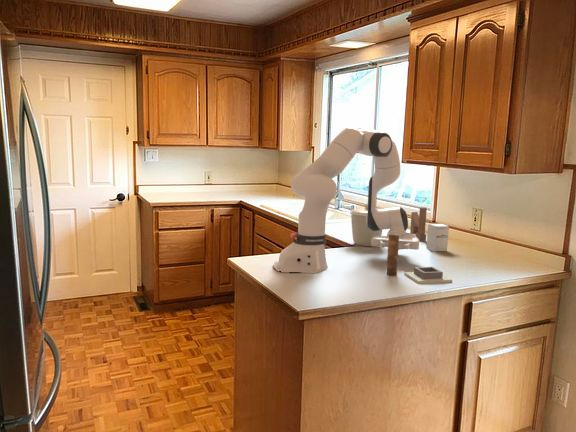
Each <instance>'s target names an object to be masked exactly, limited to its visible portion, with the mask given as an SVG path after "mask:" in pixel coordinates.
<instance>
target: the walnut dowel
mask: <svg viewBox="0 0 576 432" xmlns="http://www.w3.org/2000/svg"><path fill="white" fill-rule="evenodd" d="M398 246H399V235H396V234H389V239H388V247H387V258H386V260H387V261H386V262H387V263H386V275H387V276H390V277H392V276H394V277H396V276H397V275H398V262H399V261H398V259H399V258H398V257H399V250H398Z"/></svg>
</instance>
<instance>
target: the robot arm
mask: <svg viewBox="0 0 576 432" xmlns="http://www.w3.org/2000/svg"><path fill="white" fill-rule="evenodd" d="M356 154H360V155H365V156H366V157H367V156H368V157H373V163H374V173H373V175H371V176H370V178H369V182H368V190H367V191H368V192H367V193H368V194H367V204H368V212H367V217H366V223H367V226H368V228H370V229H371V230H373V231H378V230H382V231H383V230H388V232H387V234H386V236H385V235H381V236H374V237H372V240H371V245H372V246H371V247H379V248H388V239H389V234H396V235H399V246H398V251H400V250H419V249H420V241H419V239H418V238H417V237H416V235H415V234H411V233H410V232H406V231H407V230H408V228H409V219H408V215H407V212H406V209H404V208H403V207H401V206H395V207H388V208H387V207H386V208H378V207H377V203H378V202H377V199H378V198H377V197H378V193H379V192H380V191H381V190H382V189H384V188H386V187H388V186H390V185H392V184H394V183H395V182H396V181H397V180H398V179H399V178H400V176H401V161H400V155H399V152H398V149H397V145H396V142H395V141H394V140H392V138H391V135H389V134H388V133H387V132H385V131H382V130H381V131H380V130H376V129H371V128H370V129H369V128H355V127H351V126H350V127H346V128H344V129H343V130H341V132H339V133H338V134H337V135H336V136H335V137H334V138H333V140H332V141H331V142H330V143H329V144H328V146H327V147H326V148H325V149H324V151H323V152H322V153H321V154H320V155H319V156H318V157H317V158H316V160H314V161H313V162H312V163H310V164H309V165H308V166H307V167H306V168H305V169H304V170H302V171H301V172H298V173H297V174H295V175H294V176H293V177H292V179H291V182H290V188H291V191H292V192H293V193H294V194H295V195H296V196H298V198H301V199H303V200H304V204H303V207H302V210H301V211H300V212H299V214H298V219H297V221H298V224H297V226H298V229H297V233H294V232H293V233H290V238H291V239H292V243H290V244H289V245H287V247H285V248H284V249H282V250H281V252H280V253H279V257H278V261H274V263H273V266H274V267H273V269H274V268H275V269H276V270H275V269H274V270H275V271H277V270H278V272H279V271H281V272H280V273H289V272H302V273H301V274H306V273H307V274H319V273H320V272H323V271H326V270H327V269H328V263H327V258H326V246H327V234H326V219H327V218H326V217H327V212H328V209H329V207H330V203H331V201H332V200H334V198H335V197H336V194H337V192H338V187H337V184H336V182H335V180H334V178H335V177H337V176H339V175H340V174H341V173H342V172H343V171H344V170H345V169H346V168H347V166H348V165H349V164H350V162H351V161H352V160H353V158H354V157H355V156H356Z"/></svg>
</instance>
